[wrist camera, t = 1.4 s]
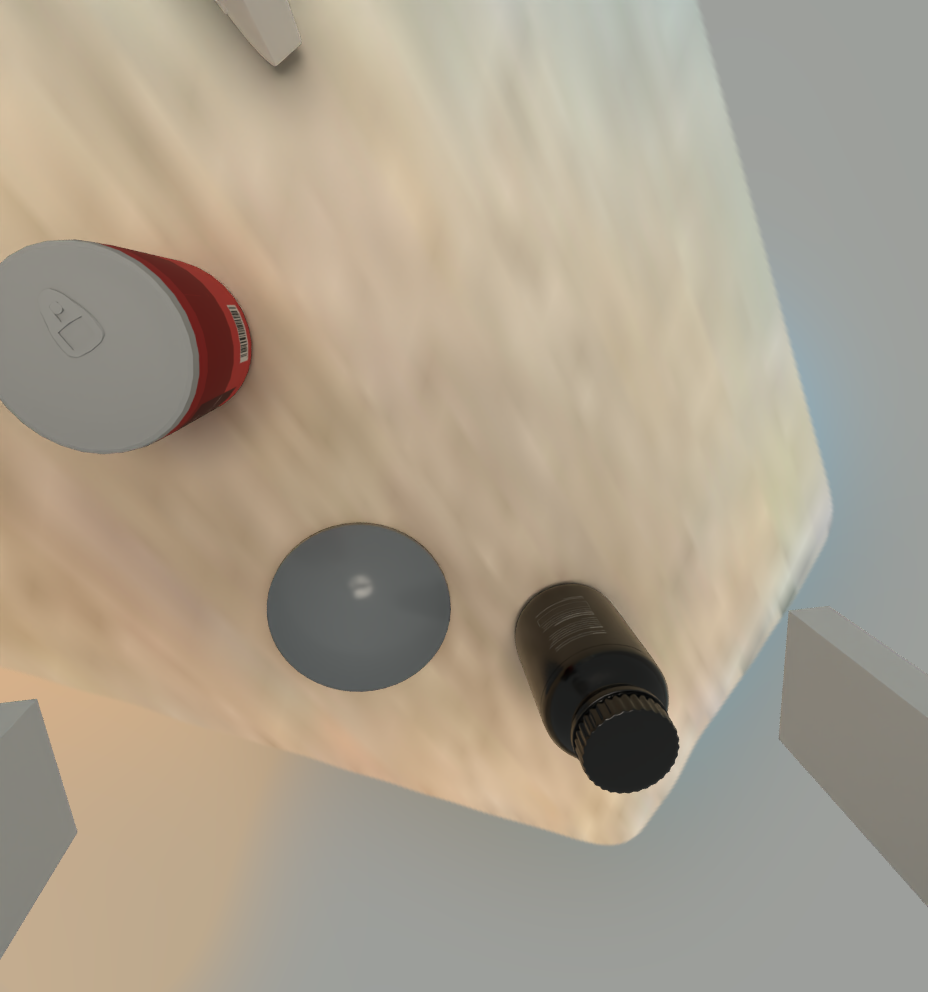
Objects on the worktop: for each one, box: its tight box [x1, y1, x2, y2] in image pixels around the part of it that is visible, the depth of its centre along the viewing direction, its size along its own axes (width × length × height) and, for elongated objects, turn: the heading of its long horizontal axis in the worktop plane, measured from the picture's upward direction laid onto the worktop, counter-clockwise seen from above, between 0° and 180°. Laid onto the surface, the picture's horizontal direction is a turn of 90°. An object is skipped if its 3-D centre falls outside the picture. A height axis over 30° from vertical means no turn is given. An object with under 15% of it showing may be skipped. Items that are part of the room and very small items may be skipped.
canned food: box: [0, 240, 251, 454], centre depth 29 cm, size 8×8×11 cm
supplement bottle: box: [515, 584, 679, 794], centre depth 36 cm, size 7×7×12 cm
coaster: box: [267, 523, 451, 692], centre depth 39 cm, size 11×11×1 cm
